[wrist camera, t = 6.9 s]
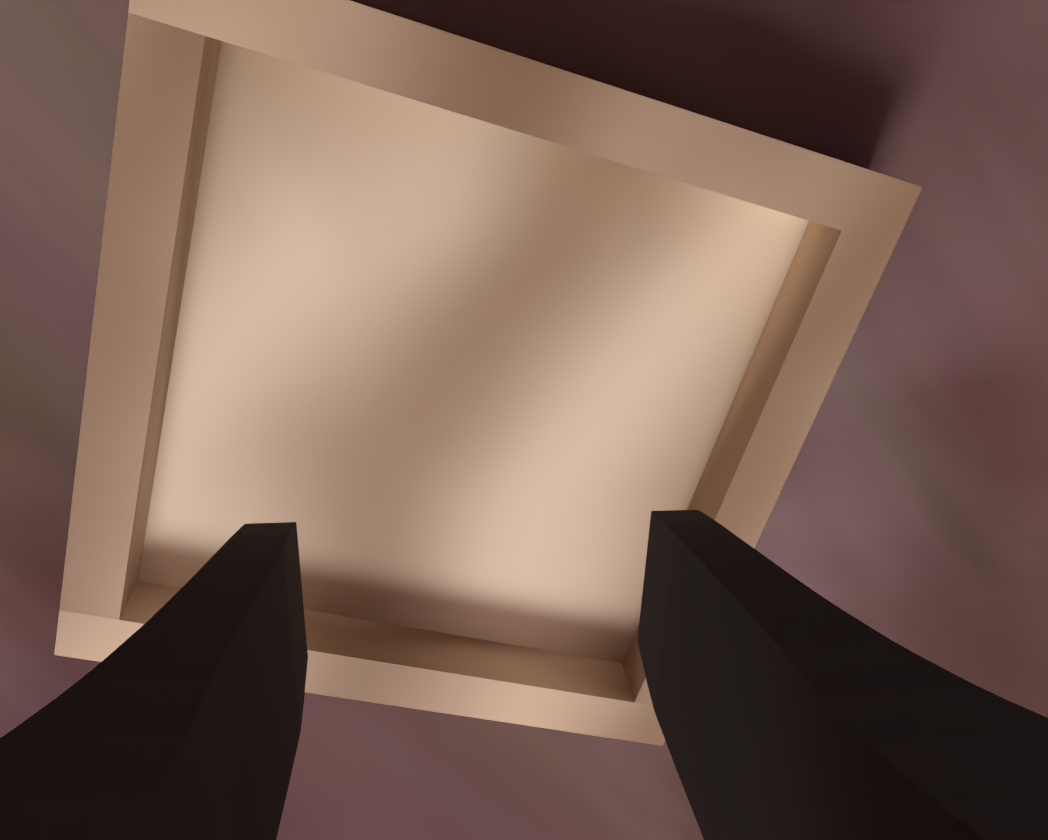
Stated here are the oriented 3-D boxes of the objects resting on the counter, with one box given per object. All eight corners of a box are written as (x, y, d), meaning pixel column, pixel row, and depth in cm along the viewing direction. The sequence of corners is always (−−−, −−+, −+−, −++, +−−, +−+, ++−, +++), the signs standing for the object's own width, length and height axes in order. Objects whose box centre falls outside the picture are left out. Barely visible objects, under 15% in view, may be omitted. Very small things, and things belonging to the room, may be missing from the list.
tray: (869, 170, 16) (922, 187, 14) (642, 687, 20) (662, 745, 18) (172, -58, 13) (138, -68, 11) (88, 595, 17) (54, 654, 16)
